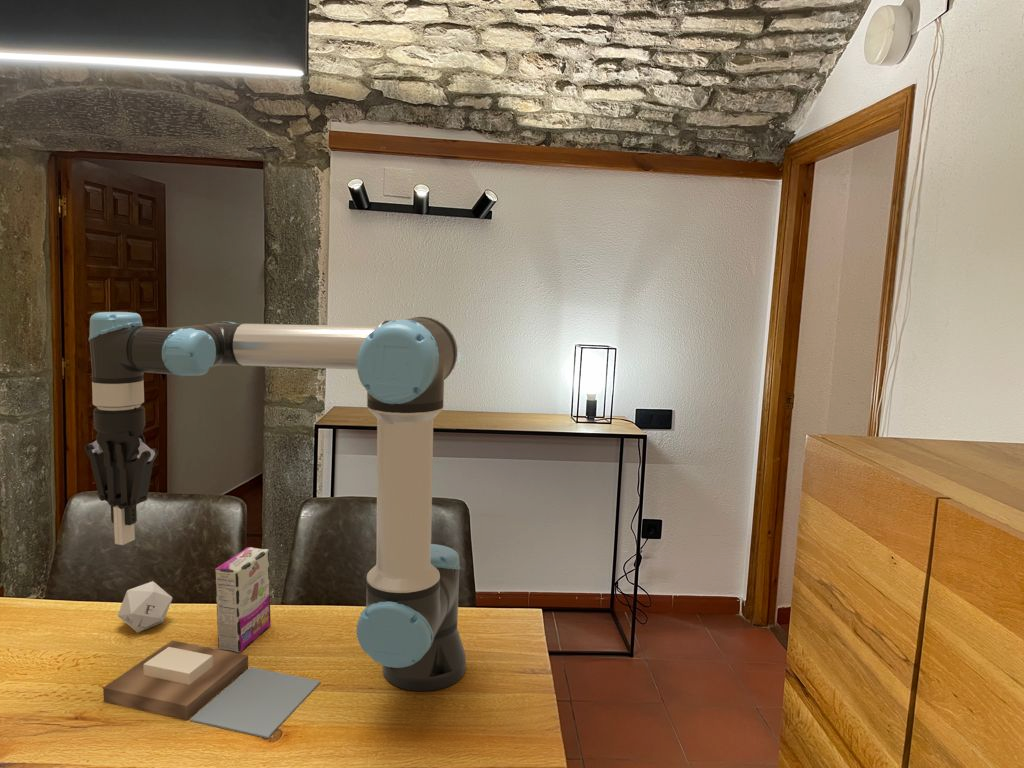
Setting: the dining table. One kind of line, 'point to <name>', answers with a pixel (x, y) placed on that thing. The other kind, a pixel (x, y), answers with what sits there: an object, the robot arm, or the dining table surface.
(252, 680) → the mat
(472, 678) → the dining table surface
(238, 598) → the candy bar box
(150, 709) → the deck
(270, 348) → the robot arm
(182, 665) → the cream rectangular tile
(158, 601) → the die
